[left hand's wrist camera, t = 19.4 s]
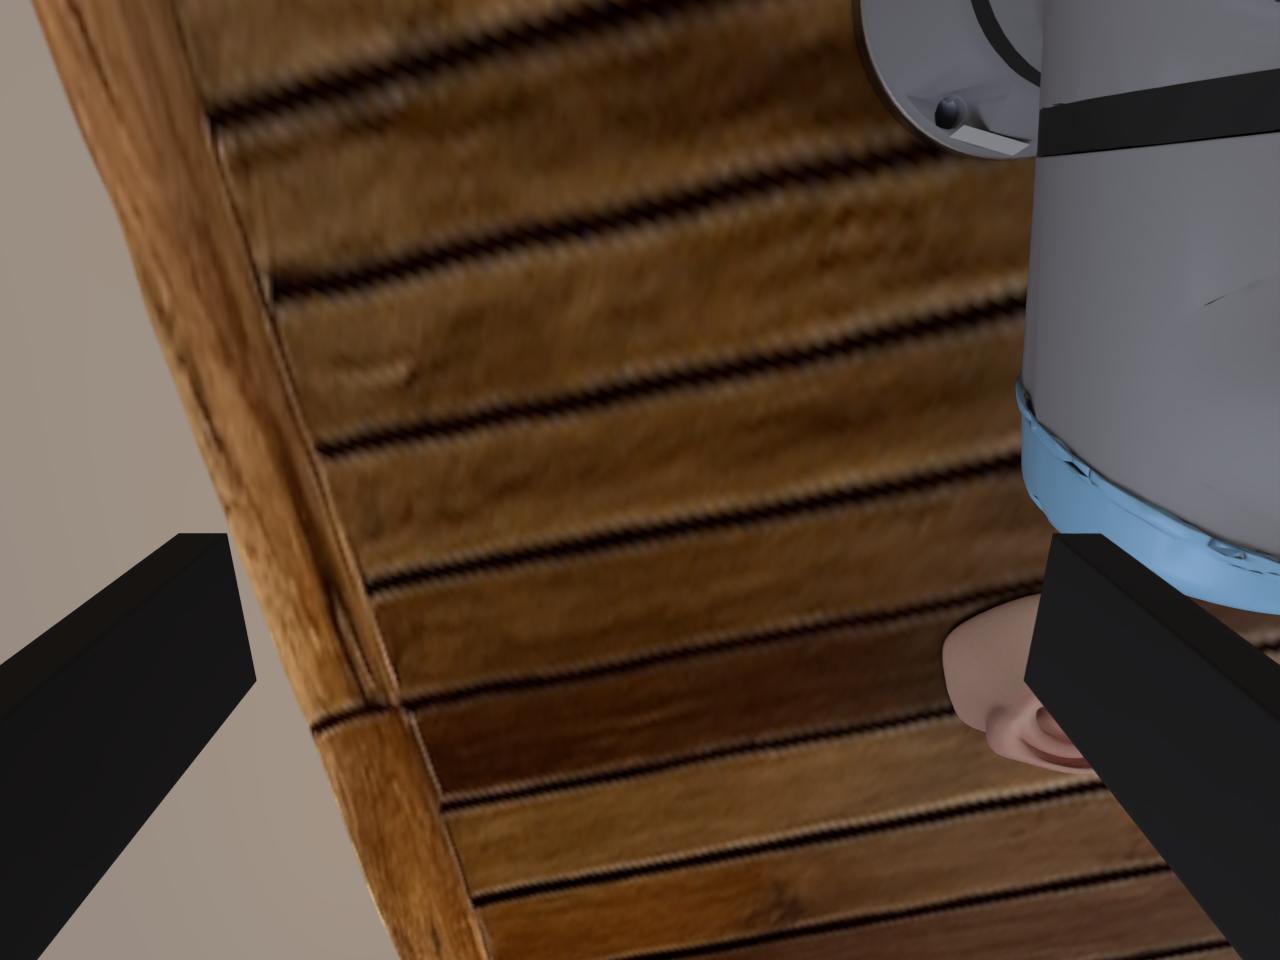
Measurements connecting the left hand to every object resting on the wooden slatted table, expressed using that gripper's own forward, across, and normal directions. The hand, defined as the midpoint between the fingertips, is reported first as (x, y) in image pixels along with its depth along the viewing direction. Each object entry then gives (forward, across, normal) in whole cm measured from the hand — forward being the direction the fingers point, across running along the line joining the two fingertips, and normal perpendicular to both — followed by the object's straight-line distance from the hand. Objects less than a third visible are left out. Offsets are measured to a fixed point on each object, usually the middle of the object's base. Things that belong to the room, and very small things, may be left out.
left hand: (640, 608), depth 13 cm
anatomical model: (+30, +25, -22) cm, 45 cm away
